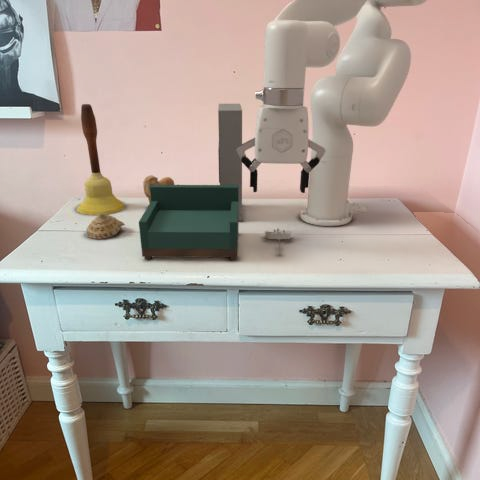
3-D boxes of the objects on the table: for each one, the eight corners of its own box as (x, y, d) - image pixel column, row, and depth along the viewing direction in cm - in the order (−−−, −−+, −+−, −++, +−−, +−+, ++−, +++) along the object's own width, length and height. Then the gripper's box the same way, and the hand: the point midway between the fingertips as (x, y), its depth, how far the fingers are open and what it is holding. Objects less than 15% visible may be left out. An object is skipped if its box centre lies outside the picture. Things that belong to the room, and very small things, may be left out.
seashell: (132, 219, 111) (110, 215, 104) (129, 243, 112) (107, 241, 105) (103, 214, 114) (80, 210, 107) (100, 238, 115) (77, 235, 107)
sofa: (238, 233, 109) (238, 185, 104) (237, 260, 96) (237, 206, 90) (155, 232, 110) (151, 184, 104) (142, 260, 96) (136, 206, 90)
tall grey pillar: (217, 205, 128) (215, 103, 116) (240, 205, 129) (240, 103, 116) (217, 221, 116) (214, 110, 104) (242, 221, 117) (242, 110, 104)
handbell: (79, 202, 131) (63, 102, 118) (126, 200, 132) (114, 101, 120) (74, 216, 120) (54, 108, 107) (124, 213, 122) (111, 106, 109)
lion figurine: (159, 214, 122) (156, 178, 117) (140, 212, 123) (137, 176, 118) (182, 198, 134) (180, 165, 129) (165, 196, 135) (162, 164, 130)
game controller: (286, 234, 109) (286, 223, 108) (305, 253, 99) (306, 241, 98) (262, 236, 108) (262, 225, 106) (279, 255, 98) (280, 243, 97)
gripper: (236, 99, 86) (235, 195, 94) (333, 101, 85) (323, 196, 94) (237, 96, 92) (236, 185, 100) (326, 97, 92) (318, 187, 100)
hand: (278, 190), depth 97 cm, fingers open, 9 cm apart
